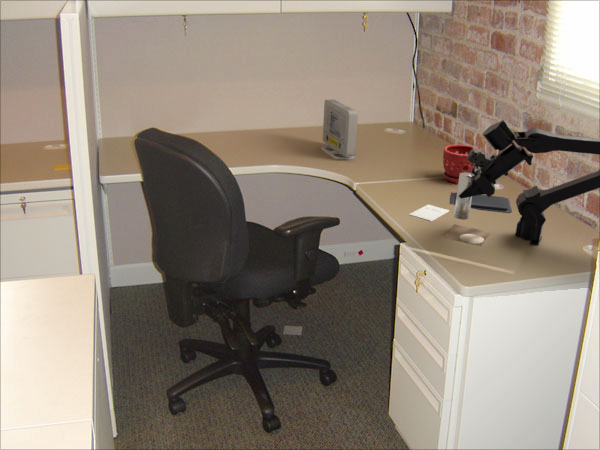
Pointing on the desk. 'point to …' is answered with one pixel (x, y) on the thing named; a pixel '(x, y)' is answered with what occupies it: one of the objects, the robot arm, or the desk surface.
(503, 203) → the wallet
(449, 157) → the plant pot
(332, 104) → the network device
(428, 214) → the external hard drive
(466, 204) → the steel pin
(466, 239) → the board
